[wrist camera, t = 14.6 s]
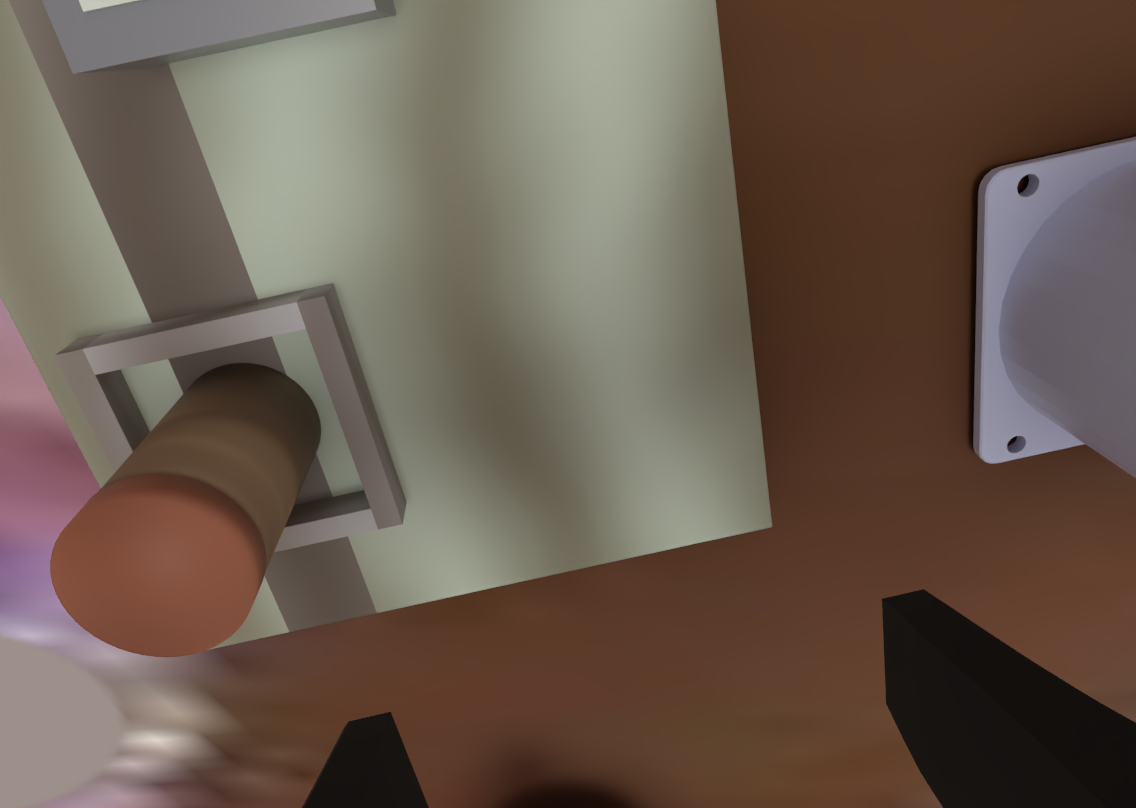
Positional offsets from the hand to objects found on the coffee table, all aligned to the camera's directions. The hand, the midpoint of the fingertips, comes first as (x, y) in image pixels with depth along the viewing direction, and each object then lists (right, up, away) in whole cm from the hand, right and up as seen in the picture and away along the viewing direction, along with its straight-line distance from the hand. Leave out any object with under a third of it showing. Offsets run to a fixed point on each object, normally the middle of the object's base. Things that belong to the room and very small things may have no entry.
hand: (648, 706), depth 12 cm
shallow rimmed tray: (-6, +9, +7) cm, 12 cm away
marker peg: (-9, +4, +7) cm, 12 cm away
